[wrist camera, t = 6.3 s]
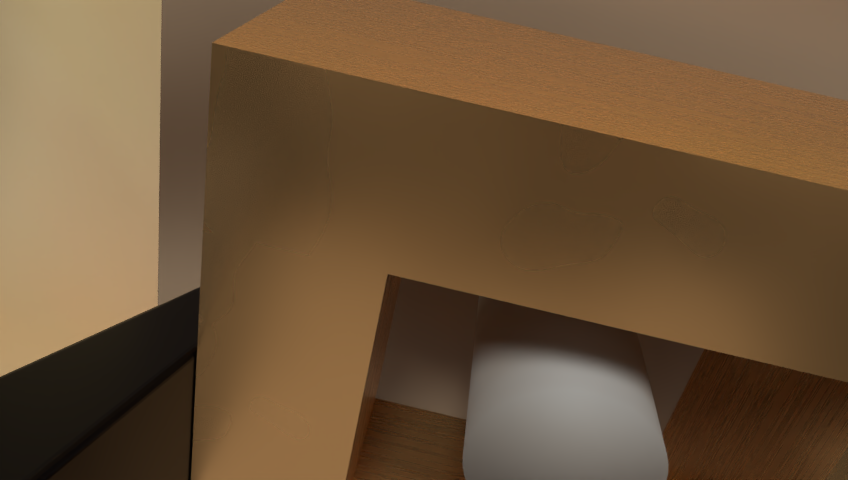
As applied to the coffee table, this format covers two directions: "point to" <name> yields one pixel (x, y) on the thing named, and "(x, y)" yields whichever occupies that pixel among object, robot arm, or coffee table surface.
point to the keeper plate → (449, 311)
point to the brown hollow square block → (508, 235)
